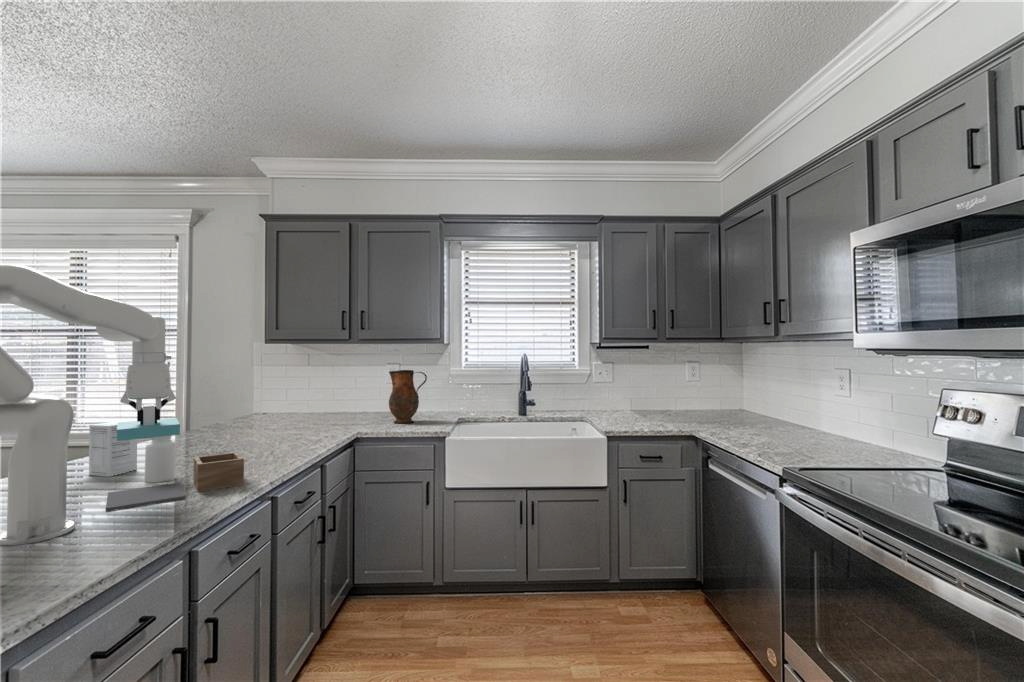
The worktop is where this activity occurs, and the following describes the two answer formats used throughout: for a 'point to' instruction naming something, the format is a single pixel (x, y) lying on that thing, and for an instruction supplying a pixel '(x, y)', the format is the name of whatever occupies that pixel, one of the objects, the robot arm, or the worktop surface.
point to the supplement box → (110, 451)
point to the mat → (144, 496)
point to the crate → (218, 471)
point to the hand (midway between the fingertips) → (148, 422)
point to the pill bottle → (160, 459)
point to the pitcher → (404, 396)
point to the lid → (148, 426)
